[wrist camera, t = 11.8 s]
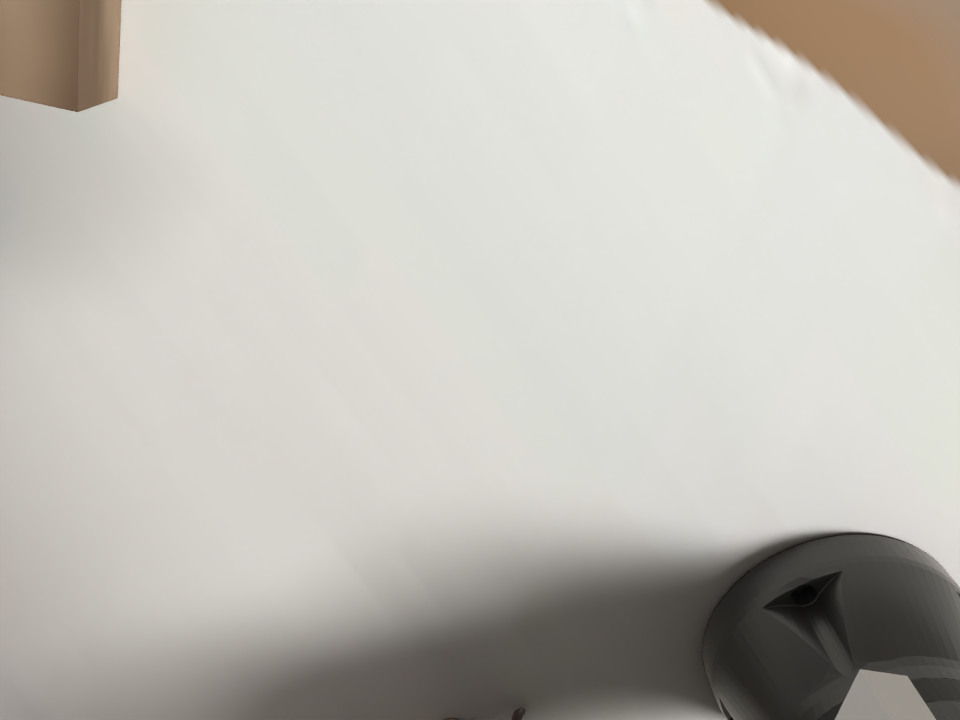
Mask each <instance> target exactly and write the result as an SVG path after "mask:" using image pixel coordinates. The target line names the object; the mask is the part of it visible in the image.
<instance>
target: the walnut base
mask: <svg viewBox="0 0 960 720" xmlns="http://www.w3.org/2000/svg"><path fill="white" fill-rule="evenodd" d="M120 22H121V0H0V95H2V96H7V97H11V98H16V99H20V100H25V101H30V102H34V103H39V104H43V105H48V106H52V107H57V108H62V109H66V110H71V111H75V112H79V111H82V110H85V109H88V108H91V107H93V106H96V105H99V104H102V103H105V102H108V101H111V100H113V99H116V98H117V96H118V71H119V47H120Z"/></svg>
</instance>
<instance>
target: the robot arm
mask: <svg viewBox="0 0 960 720" xmlns="http://www.w3.org/2000/svg"><path fill="white" fill-rule="evenodd" d="M703 662H704V667H705V671H706V674H707V677H708V680H709V683H710V686H711V688H712V691H713V694H714V697H715V699H716V702H717V704H718V706H719V708H720V710H721V712H722V713H723V715H724V717H725V718H726V720H960V587H959V586H958V585H957V584H956V582H955V581H954V580H953V579H952V577H951V576H950V575H949V574H948V573H947V571H946V570H945V569H944V568H943V567H942V566H941V565H940V564H939V563H938V562H937V561H936V560H935V559H934V558H933V557H931V556H930V555H929V554H927V553H926V552H924V551H922V550H921V549H919V548H917V547H915V546H913V545H910V544H908V543H905V542H902V541H899V540H896V539H892V538H887V537H881V536H874V535H842V536H834V537H828V538H823V539H818V540H814V541H810V542H807V543H804V544H801V545H798V546H795V547H792V548H790V549H788V550H785V551H783V552H781V553H779V554H777V555H775V556H773V557H771V558H769V559H768V560H766V561H764V562H763V563H761V564H760V565H758V566H757V567H755V568H754V569H752V570H751V571H750V572H748V573H747V574H746V575H745V576H744V577H742V578H741V579H740V580H739V581H738V582H737V583H736V584H735V585H734V586H733V587H732V588H731V589H730V590H729V591H728V593H727V594H726V595H725V596H724V597H723V599H722V600H721V602H720V603H719V604H718V606H717V608H716V609H715V611H714V613H713V615H712V617H711V619H710V621H709V624H708V626H707V630H706V633H705V637H704V643H703Z"/></svg>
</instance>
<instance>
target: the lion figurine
mask: <svg viewBox="0 0 960 720" xmlns="http://www.w3.org/2000/svg"><path fill="white" fill-rule="evenodd" d="M524 713H525V708H524V707H521V708H519V709H517V710H515V712H514V713H513V717H512V720H521V719H522V717H523V715H524ZM447 720H455V719H447Z"/></svg>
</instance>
